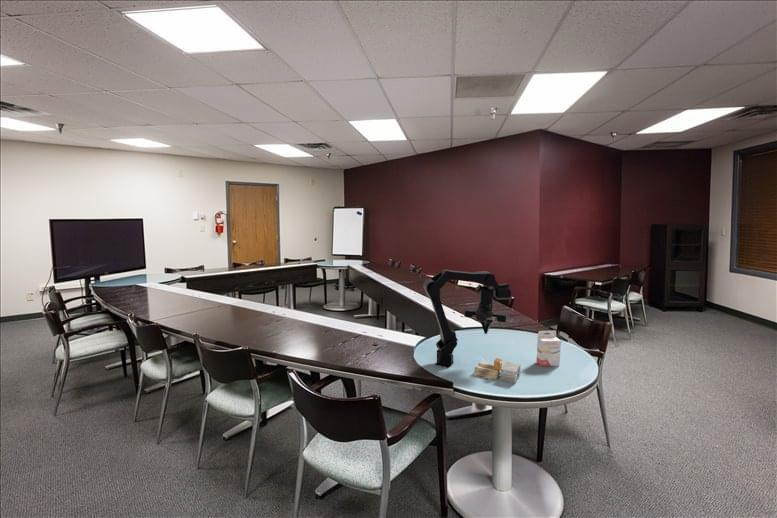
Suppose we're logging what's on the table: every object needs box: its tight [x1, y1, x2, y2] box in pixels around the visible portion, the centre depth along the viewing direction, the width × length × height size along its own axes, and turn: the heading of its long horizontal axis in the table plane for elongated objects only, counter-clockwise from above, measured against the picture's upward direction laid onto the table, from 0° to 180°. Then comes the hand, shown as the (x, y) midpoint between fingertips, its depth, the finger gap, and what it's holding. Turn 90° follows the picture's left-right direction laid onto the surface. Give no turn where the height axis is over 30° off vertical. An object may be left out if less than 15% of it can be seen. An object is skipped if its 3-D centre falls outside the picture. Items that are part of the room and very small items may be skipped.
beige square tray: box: [472, 361, 500, 381], centre depth 160 cm, size 10×10×3 cm
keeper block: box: [499, 361, 521, 385], centre depth 155 cm, size 6×8×5 cm
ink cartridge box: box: [536, 330, 562, 367], centre depth 167 cm, size 9×5×15 cm, turn 92°
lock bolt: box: [493, 358, 503, 375], centre depth 156 cm, size 8×3×5 cm, turn 59°
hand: (485, 333), depth 171 cm, fingers closed
